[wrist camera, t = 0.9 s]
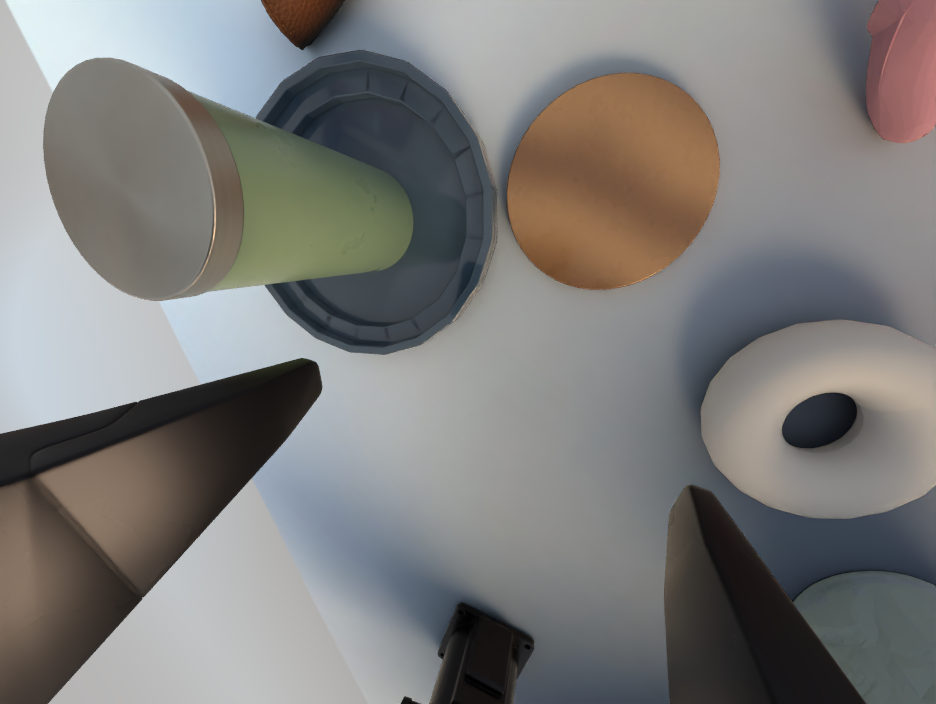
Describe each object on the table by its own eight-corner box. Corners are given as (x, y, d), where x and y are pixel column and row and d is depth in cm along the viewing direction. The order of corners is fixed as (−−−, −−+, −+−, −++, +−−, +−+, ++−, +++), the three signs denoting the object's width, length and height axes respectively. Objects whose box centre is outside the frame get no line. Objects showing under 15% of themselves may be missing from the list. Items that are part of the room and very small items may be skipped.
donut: (651, 414, 21) (797, 523, 21) (663, 442, 18) (837, 573, 17) (802, 272, 18) (987, 400, 17) (851, 276, 14) (1083, 434, 14)
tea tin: (402, 286, 23) (208, 330, 11) (317, 255, 24) (52, 263, 12) (426, 181, 21) (219, 88, 8) (332, 152, 22) (28, 32, 9)
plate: (454, 380, 24) (444, 391, 22) (255, 300, 27) (231, 304, 25) (540, 109, 19) (536, 93, 17) (279, 41, 21) (250, 21, 19)
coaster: (656, 313, 20) (658, 315, 19) (485, 256, 21) (482, 256, 21) (759, 106, 16) (766, 101, 16) (546, 56, 18) (545, 50, 17)
